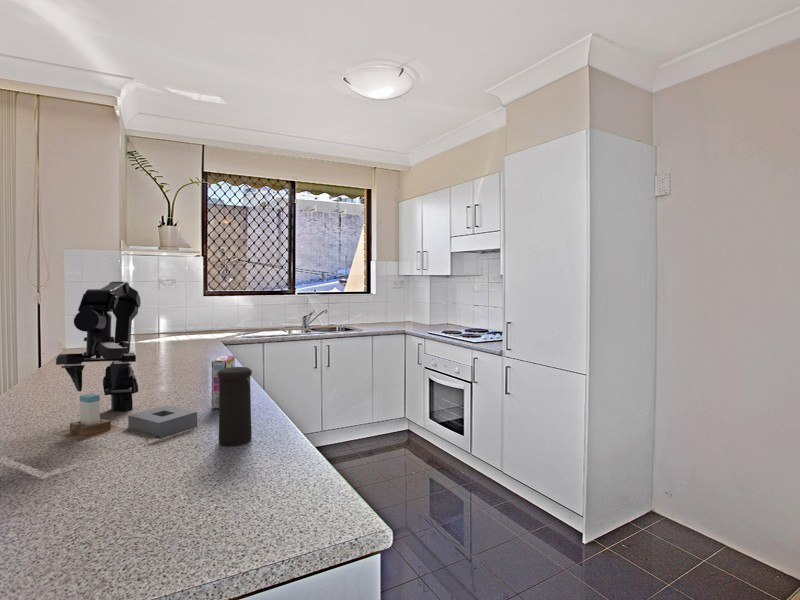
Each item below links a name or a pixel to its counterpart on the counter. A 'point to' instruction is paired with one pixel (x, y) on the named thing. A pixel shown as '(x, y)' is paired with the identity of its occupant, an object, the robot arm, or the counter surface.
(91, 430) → the holster
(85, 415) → the plug
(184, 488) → the counter surface
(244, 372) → the container
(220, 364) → the candy bar box
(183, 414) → the socket block
